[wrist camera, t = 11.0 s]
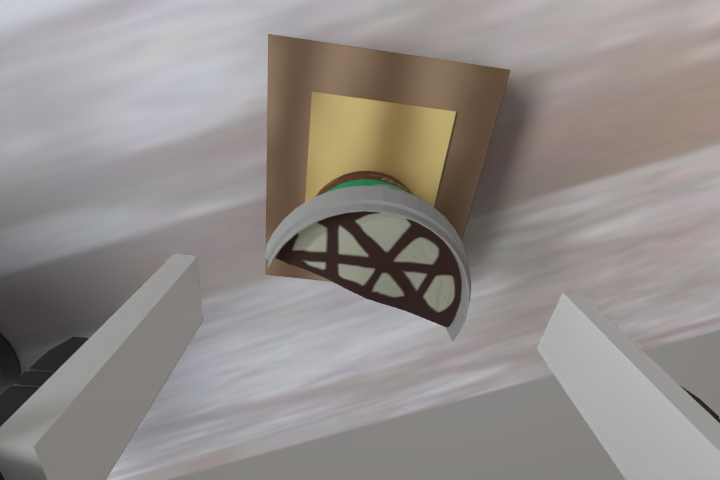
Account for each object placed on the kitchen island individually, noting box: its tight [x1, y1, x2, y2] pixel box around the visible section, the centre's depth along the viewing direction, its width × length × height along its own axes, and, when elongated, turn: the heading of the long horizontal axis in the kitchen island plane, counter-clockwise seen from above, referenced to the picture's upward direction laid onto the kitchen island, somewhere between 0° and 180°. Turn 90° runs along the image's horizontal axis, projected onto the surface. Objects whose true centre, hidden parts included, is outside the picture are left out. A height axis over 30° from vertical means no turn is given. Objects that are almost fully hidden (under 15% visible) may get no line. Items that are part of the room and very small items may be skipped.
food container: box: [265, 171, 471, 341], centre depth 22 cm, size 12×6×10 cm, turn 64°
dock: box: [266, 34, 510, 281], centre depth 28 cm, size 16×18×4 cm
